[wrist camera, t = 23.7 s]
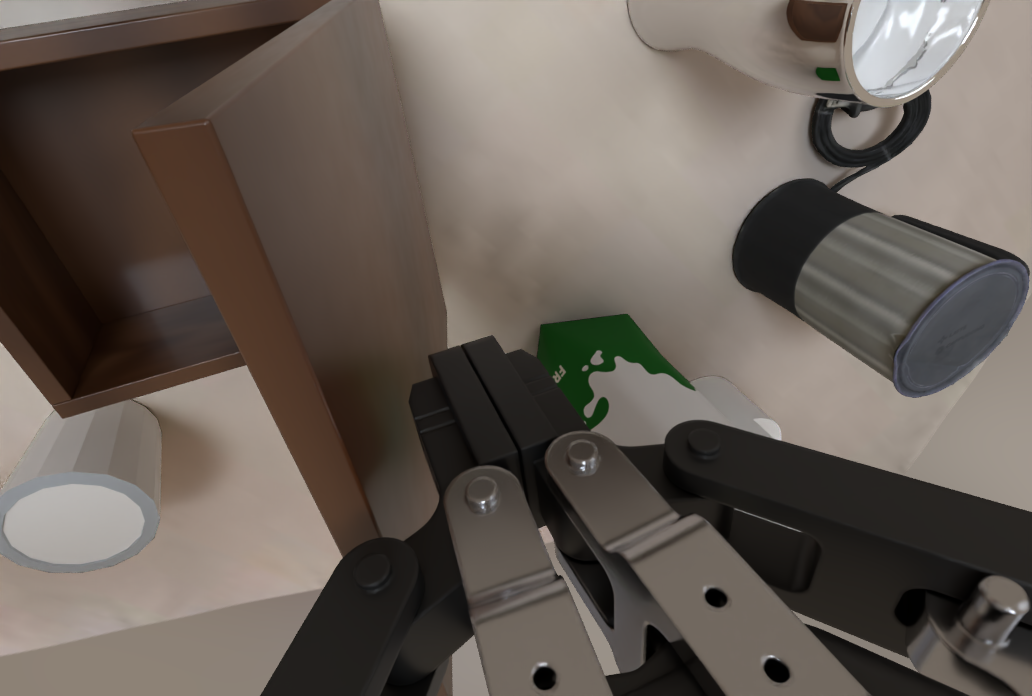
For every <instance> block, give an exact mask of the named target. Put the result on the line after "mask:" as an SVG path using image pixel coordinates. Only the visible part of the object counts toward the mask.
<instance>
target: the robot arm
mask: <svg viewBox="0 0 1032 696" xmlns="http://www.w3.org/2000/svg"><path fill="white" fill-rule="evenodd" d="M428 359H429V364H430V368H431V372H432V376H433V378H430V379H427V380H424V381H421V382H418V383H415V384H412V389H411V393H410V397H409V401H408V402H409V406H410V409H411V412H412V416H413V419H414V422H415V426H416V429H417V433H418V436H419V439H420V443H421V446H422V449H423V452H424V455H425V458H426V461H427V464H428V466H429V469H430V472H431V475H432V478H433V481H434V483H435V486H436V489H437V492H438V495H439V502H438V505H437V508H436V510H435V512H434V514H433V515H432V517H431V518H430V520H429V521H428V522H427V523H426V524H425V525H424V526H423V527H422V528H420V529H419V530H418V531H417V532H415V533H414V534H413V535H411V536H410V537H408V538H407V539H406V540H404V541H402V540H399V539H396V538H390V537H380V538H375V539H371V540H368V541H366V542H364V543H362V544H359V545H358V546H356V547H355V548H353V549H352V550H351V551H350V552H348V553H347V554H346V555H345V556H344V557H343V559H342V560H341V561H340V562H339V564H338V565H337V567H336V569H335V570H334V572H333V574H332V575H331V577H330V579H329V580H328V582H327V584H326V585H325V587H324V589H323V590H322V592H321V594H320V596H319V597H318V599H317V601H316V602H315V604H314V606H313V608H312V609H311V611H310V613H309V614H308V616H307V618H306V619H305V621H304V623H303V624H302V626H301V628H300V629H299V631H298V633H297V634H296V636H295V638H294V640H293V641H292V643H291V645H290V646H289V648H288V650H287V651H286V653H285V655H284V657H283V658H282V660H281V661H280V663H279V665H278V667H277V668H276V670H275V672H274V673H273V675H272V677H271V679H270V680H269V682H268V683H267V685H266V687H265V689H264V691H263V692H262V694H261V695H260V696H437V694H438V691H439V689H440V686H441V683H442V681H443V678H444V675H445V673H446V670H447V667H448V663H449V657H450V656H451V655H452V654H453V653H454V652H455V651H456V650H457V649H459V648H460V647H461V646H462V645H463V644H464V643H465V642H467V641H468V640H469V639H470V638H471V637H472V636H473V635H475V639H476V643H477V647H478V651H479V655H480V659H481V663H482V667H483V671H484V675H485V679H486V683H487V688H488V692H489V696H1032V512H1029V511H1026V510H1022V509H1019V508H1015V507H1011V506H1008V505H1005V504H1001V503H998V502H994V501H991V500H986V499H984V498H980V497H977V496H973V495H969V494H966V493H962V492H959V491H955V490H951V489H948V488H945V487H941V486H938V485H934V484H931V483H927V482H924V481H920V480H917V479H913V478H909V477H906V476H903V475H899V474H896V473H892V472H889V471H885V470H882V469H878V468H875V467H871V466H868V465H864V464H861V463H857V462H854V461H850V460H847V459H843V458H840V457H836V456H833V455H829V454H825V453H822V452H818V451H815V450H811V449H808V448H804V447H801V446H797V445H794V444H790V443H787V442H783V441H780V440H776V439H773V438H769V437H766V436H762V435H759V434H755V433H752V432H748V431H745V430H741V429H738V428H734V427H731V426H727V425H724V424H720V423H717V422H713V421H708V420H689V421H685V422H682V423H680V424H677V425H676V426H674V427H673V428H672V429H671V430H670V431H669V432H668V433H667V435H666V437H665V442H664V444H655V445H644V446H620V445H616V444H615V443H614V442H613V441H612V440H611V439H609V438H608V437H606V436H604V435H602V434H600V433H597V432H592V431H591V430H590V429H589V428H588V426H587V425H586V424H585V422H584V421H583V420H582V418H581V417H580V415H579V414H578V413H577V411H576V410H575V408H574V407H573V406H572V404H571V403H570V402H569V400H568V399H567V397H566V396H565V395H564V393H563V392H562V390H561V389H560V388H559V387H558V386H557V384H556V382H555V381H554V379H553V378H552V377H551V376H550V375H549V373H548V371H547V370H546V368H545V367H544V366H543V364H542V363H541V361H540V360H539V359H538V358H536V357H534V356H533V355H531V354H529V353H527V352H525V351H524V350H522V349H520V350H516V351H513V352H510V353H507V354H505V353H504V351H503V350H502V348H501V346H500V345H499V343H498V342H497V340H496V339H495V337H494V336H493V335H491V336H487V337H484V338H481V339H478V340H475V341H471V342H468V343H465V344H462V345H461V347H460V346H456V347H453V348H449V349H446V350H443V351H440V352H437V353H434V354H430V355H428ZM736 509H738V510H736ZM739 510H741V511H739ZM742 511H744V512H742ZM745 512H746V513H745ZM747 513H749V514H747ZM750 514H752V515H750ZM753 515H755V516H753ZM756 516H758V517H756ZM759 517H761V518H759ZM762 518H764V519H762ZM765 519H767V520H765ZM768 520H769V521H768ZM770 521H772V522H770ZM773 522H775V523H773ZM776 523H778V524H776ZM779 524H781V525H779ZM546 525H547V527H548V529H549V531H550V533H551V535H552V537H553V539H554V544H555V553H556V557H557V559H558V561H559V563H560V564H561V566H562V568H563V569H564V571H565V572H566V574H567V575H568V577H569V579H570V580H571V582H572V584H573V585H574V587H575V588H576V590H577V592H578V593H579V595H580V596H581V598H582V600H583V601H584V603H585V604H586V606H587V608H588V609H589V611H590V613H591V614H592V616H593V617H594V619H595V621H596V622H597V624H598V625H599V627H600V628H601V630H602V632H603V634H604V635H605V637H606V639H607V641H608V642H609V645H610V647H611V649H612V652H613V655H614V658H615V661H616V664H617V666H618V668H619V671H620V674H614V675H608V676H605V675H604V673H603V670H602V668H601V665H600V663H599V660H598V658H597V655H596V653H595V651H594V648H593V646H592V643H591V641H590V638H589V636H588V634H587V631H586V629H585V626H584V624H583V621H582V619H581V617H580V614H579V612H578V609H577V607H576V605H575V602H574V600H573V597H572V595H571V593H570V590H569V588H568V586H567V584H566V582H565V580H564V578H563V577H562V576H561V575H559V576H558V575H557V573H556V571H555V569H554V567H553V565H552V562H551V560H550V558H549V555H548V552H547V550H546V547H545V545H544V542H543V540H542V537H541V535H540V532H539V530H538V528H541V527H543V526H546ZM782 525H784V526H782ZM785 526H787V527H785ZM788 527H789V528H788ZM790 528H792V529H790ZM793 529H795V530H793ZM796 530H798V531H796ZM799 531H801V532H799ZM791 610H793V611H795V612H798V613H800V614H802V615H805V616H807V617H810V618H812V619H815V620H817V621H819V622H822V623H824V624H827V625H829V626H832V627H834V628H837V629H839V630H842V631H844V632H847V633H849V634H851V635H854V636H856V637H859V638H861V639H863V640H866V641H868V642H871V643H874V644H876V645H878V646H881V647H883V648H885V649H888V650H890V651H893V652H895V653H898V654H900V655H902V656H905V657H907V658H910V660H911V661H912V663H913V665H914V667H915V668H916V669H917V671H918V672H919V673H918V672H916V671H914V670H911V669H909V668H907V667H905V666H902V665H900V664H898V663H896V662H894V661H891V660H889V659H887V658H884V657H882V656H880V655H878V654H875V653H873V652H871V651H869V650H867V649H865V648H862V647H860V646H858V645H855V644H853V643H851V642H849V641H847V640H844V639H842V638H840V637H838V636H835V635H833V634H831V633H829V632H826V631H824V630H822V629H819V628H816V627H814V626H810V625H807V624H804V623H803V622H802V621H801V620H800V619H799V618H798V617H797V616H796V615H795V614H794V613H793V612H792V611H791Z"/></svg>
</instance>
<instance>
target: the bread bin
mask: <svg viewBox="0 0 1032 696" xmlns="http://www.w3.org/2000/svg"><path fill="white" fill-rule="evenodd" d="M329 1H331V0H188V1H182V2H175V3H169V4H162V5H156V6H149V7H142V8H136V9H129V10H123V11H116V12H110V13H103V14H97V15H90V16H84V17H77V18H71V19H64V20H58V21H51V22H44V23H38V24H31V25H25V26H18V27H12V28H5V29H0V342H1V343H2V344H3V345H4V347H5V348H6V349H7V350H8V352H9V353H10V354H11V355H12V357H13V358H14V359H15V360H16V362H17V363H18V364H19V365H20V367H21V368H22V369H23V370H24V372H25V373H26V374H27V375H28V377H29V378H30V379H31V380H32V382H33V383H34V384H35V385H36V387H37V388H38V389H39V390H40V392H41V393H42V394H43V395H44V397H45V398H46V399H47V400H48V402H49V403H50V404H51V405H52V407H53V408H54V409H55V410H56V412H57V413H58V414H59V415H60V417H61V418H62V419H65V418H68V417H72V416H75V415H78V414H82V413H85V412H89V411H92V410H95V409H99V408H102V407H105V406H109V405H112V404H116V403H119V402H122V401H126V400H129V399H133V398H136V397H139V396H143V395H146V394H150V393H153V392H156V391H160V390H163V389H166V388H170V387H173V386H177V385H180V384H183V383H187V382H190V381H194V380H197V379H200V378H204V377H207V376H210V375H214V374H217V373H221V372H224V371H227V370H231V369H234V368H238V367H241V366H244V365H246V363H245V361H244V359H243V357H242V355H241V353H240V351H239V349H238V347H237V345H236V343H235V341H234V339H233V337H232V335H231V333H230V331H229V329H228V327H227V325H226V323H225V321H224V319H223V317H222V315H221V313H220V311H219V309H218V307H217V305H216V303H215V301H214V299H213V297H212V295H211V293H210V291H209V289H208V287H207V285H206V283H205V281H204V279H203V277H202V275H201V273H200V271H199V269H198V267H197V265H196V263H195V261H194V259H193V257H192V255H191V253H190V251H189V249H188V247H187V245H186V243H185V241H184V239H183V237H182V235H181V233H180V231H179V229H178V227H177V225H176V223H175V221H174V219H173V217H172V215H171V213H170V211H169V209H168V207H167V205H166V203H165V201H164V199H163V197H162V195H161V193H160V191H159V189H158V187H157V185H156V183H155V181H154V179H153V177H152V175H151V173H150V171H149V169H148V167H147V165H146V163H145V161H144V159H143V157H142V155H141V153H140V151H139V149H138V147H137V145H136V143H135V141H134V139H133V137H132V133H131V131H132V129H134V128H135V127H137V126H138V125H140V124H141V123H143V122H145V121H146V120H148V119H149V118H151V117H152V116H154V115H155V114H157V113H158V112H160V111H161V110H163V109H165V108H166V107H168V106H169V105H171V104H172V103H174V102H175V101H177V100H178V99H180V98H182V97H183V96H185V95H186V94H188V93H189V92H191V91H192V90H194V89H195V88H197V87H198V86H200V85H202V84H203V83H205V82H206V81H208V80H209V79H211V78H212V77H214V76H215V75H217V74H219V73H220V72H222V71H223V70H225V69H226V68H228V67H229V66H231V65H232V64H234V63H235V62H237V61H239V60H240V59H242V58H243V57H245V56H246V55H248V54H249V53H251V52H252V51H254V50H255V49H257V48H259V47H260V46H262V45H263V44H265V43H266V42H268V41H269V40H271V39H272V38H274V37H276V36H277V35H279V34H280V33H282V32H283V31H285V30H286V29H288V28H289V27H291V26H292V25H294V24H296V23H297V22H299V21H300V20H302V19H303V18H305V17H306V16H308V15H309V14H311V13H313V12H314V11H316V10H317V9H319V8H320V7H322V6H323V5H325V4H326V3H328V2H329Z"/></svg>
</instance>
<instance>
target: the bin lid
mask: <svg viewBox="0 0 1032 696" xmlns="http://www.w3.org/2000/svg"><path fill="white" fill-rule="evenodd" d="M131 133H132V137H133V139H134V141H135V143H136V145H137V147H138V149H139V151H140V153H141V155H142V157H143V159H144V161H145V163H146V165H147V167H148V169H149V171H150V173H151V175H152V177H153V179H154V181H155V183H156V185H157V187H158V189H159V191H160V193H161V195H162V197H163V199H164V201H165V203H166V205H167V207H168V209H169V211H170V213H171V215H172V217H173V219H174V221H175V223H176V225H177V227H178V229H179V231H180V233H181V235H182V237H183V239H184V241H185V243H186V245H187V247H188V249H189V251H190V253H191V255H192V257H193V259H194V261H195V263H196V265H197V267H198V269H199V271H200V273H201V275H202V277H203V279H204V281H205V283H206V285H207V287H208V289H209V291H210V293H211V295H212V297H213V299H214V301H215V303H216V305H217V307H218V309H219V311H220V313H221V315H222V317H223V319H224V321H225V323H226V325H227V327H228V329H229V331H230V333H231V335H232V337H233V339H234V341H235V343H236V345H237V347H238V349H239V351H240V353H241V355H242V357H243V359H244V361H245V363H246V365H247V367H248V369H249V371H250V373H251V375H252V377H253V379H254V381H255V383H256V385H257V387H258V389H259V391H260V393H261V395H262V397H263V399H264V401H265V403H266V405H267V407H268V409H269V411H270V413H271V415H272V417H273V419H274V421H275V423H276V425H277V427H278V429H279V431H280V433H281V435H282V437H283V439H284V441H285V443H286V445H287V447H288V449H289V451H290V453H291V455H292V457H293V459H294V461H295V463H296V465H297V467H298V469H299V471H300V473H301V475H302V477H303V479H304V481H305V483H306V485H307V487H308V489H309V491H310V493H311V495H312V497H313V499H314V501H315V503H316V505H317V507H318V509H319V511H320V513H321V515H322V517H323V519H324V521H325V523H326V525H327V527H328V529H329V531H330V533H331V535H332V537H333V539H334V541H335V543H336V545H337V547H338V549H339V551H340V553H341V555H342V557H344V556H345V555H346V554H347V553H348V552H350V551H351V550H352V549H353V548H355V547H356V546H358V545H359V544H362V543H364V542H366V541H368V540H371V539H375V538H380V537H390V538H396V539H399V540H402V541H404V540H406V539H407V538H408V537H410V536H411V535H413V534H414V533H415V532H417V531H418V530H419V529H420V528H422V527H423V526H424V525H425V524H426V523H427V522H428V521H429V520H430V518H431V517H432V515H433V514H434V512H435V510H436V508H437V505H438V502H439V495H438V492H437V489H436V486H435V483H434V481H433V478H432V475H431V472H430V469H429V466H428V464H427V461H426V458H425V455H424V452H423V449H422V446H421V443H420V439H419V436H418V433H417V429H416V426H415V422H414V419H413V416H412V412H411V409H410V406H409V402H408V401H409V397H410V393H411V389H412V384H415V383H418V382H421V381H424V380H427V379H430V378H433V376H432V372H431V368H430V364H429V359H428V355H430V354H434V353H437V352H440V351H443V350H446V349H448V346H447V310H446V305H445V301H444V296H443V291H442V287H441V282H440V278H439V273H438V269H437V264H436V259H435V255H434V250H433V246H432V241H431V237H430V232H429V227H428V223H427V218H426V214H425V209H424V205H423V200H422V195H421V191H420V186H419V182H418V177H417V173H416V168H415V163H414V159H413V154H412V150H411V145H410V141H409V136H408V131H407V127H406V122H405V118H404V113H403V109H402V104H401V99H400V95H399V90H398V86H397V81H396V77H395V72H394V67H393V63H392V58H391V54H390V49H389V45H388V40H387V35H386V31H385V26H384V22H383V17H382V13H381V8H380V3H379V0H331V1H329V2H328V3H326V4H325V5H323V6H322V7H320V8H319V9H317V10H316V11H314V12H313V13H311V14H309V15H308V16H306V17H305V18H303V19H302V20H300V21H299V22H297V23H296V24H294V25H292V26H291V27H289V28H288V29H286V30H285V31H283V32H282V33H280V34H279V35H277V36H276V37H274V38H272V39H271V40H269V41H268V42H266V43H265V44H263V45H262V46H260V47H259V48H257V49H255V50H254V51H252V52H251V53H249V54H248V55H246V56H245V57H243V58H242V59H240V60H239V61H237V62H235V63H234V64H232V65H231V66H229V67H228V68H226V69H225V70H223V71H222V72H220V73H219V74H217V75H215V76H214V77H212V78H211V79H209V80H208V81H206V82H205V83H203V84H202V85H200V86H198V87H197V88H195V89H194V90H192V91H191V92H189V93H188V94H186V95H185V96H183V97H182V98H180V99H178V100H177V101H175V102H174V103H172V104H171V105H169V106H168V107H166V108H165V109H163V110H161V111H160V112H158V113H157V114H155V115H154V116H152V117H151V118H149V119H148V120H146V121H145V122H143V123H141V124H140V125H138V126H137V127H135V128H134V129H132V131H131ZM437 696H452V655H451V656H450V657H449V663H448V667H447V670H446V673H445V675H444V678H443V681H442V683H441V686H440V689H439V691H438V694H437Z"/></svg>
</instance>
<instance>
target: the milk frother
mask: <svg viewBox="0 0 1032 696" xmlns="http://www.w3.org/2000/svg"><path fill="white" fill-rule="evenodd" d="M837 108H841V109H842V110H843V111H845V112H846V113H847V114H849V116H850V117H852V118H856V117H858V115H859V113H860V112H861V111H868V110H872V109H875V108H878V107H873V106H870V105H866V104H859V103H851V102H842V101H834V100H827V99H819V101H818V103H817V105H816V109H815V112H814V116H813V120H812V139H813V144H814V145H815V147H816V149H817V151H818V152H819V153H820V154H821V155H822V156H823V157H824V158H825V159H826V160H827V161H829V162H831V163H832V164H834V165H837V166H840V167H850V168H854V167H863V166H866V167H865V168H863V169H861V170H860V171H858V172H856V173H854V174H852V175H850V176H849V177H847V178H845V179H843V180H841V181H840V182H838V183H837V184H835V185H834V186H833V187H832V188H831V189H829V188H828V187H827V186H826V185H825V184H824V183H822V182H820V181H818V180H815V179H798V180H794V181H791V182H789V183H786V184H784V185H782V186H780V187H779V188H777V189H776V190H774V191H772V192H771V193H770V194H769V195H768V196H766V197H765V198H764V199H763V200H762V201H761V202H760V203H759V204H758V205H757V206H756V207H755V208H754V209H753V211H752V212H751V214H750V215H749V216H748V218H747V219H746V221H745V223H744V224H743V226H742V228H741V231H740V233H739V235H738V238H737V241H736V244H735V248H734V253H733V267H734V272H735V274H736V277H737V278H738V280H739V281H740V283H741V284H742V285H743V286H745V287H746V288H747V289H749V290H752V291H754V292H759V293H761V294H763V295H764V296H766V297H768V298H769V299H771V300H772V301H774V302H776V303H777V304H779V305H780V306H782V307H784V308H785V309H787V310H788V311H790V312H791V313H793V314H794V315H796V316H797V317H798V318H800V319H801V320H803V321H805V322H806V323H808V324H809V325H810V326H812V327H813V328H814V329H816V330H817V331H818V332H820V333H821V334H823V335H824V336H826V337H827V338H828V339H830V340H831V341H833V342H834V343H836V344H837V345H839V346H840V347H842V348H843V349H844V350H846V351H847V352H849V353H850V354H852V355H853V356H855V357H856V358H858V359H859V360H861V361H862V362H863V363H865V364H866V365H868V366H869V367H871V368H872V369H874V370H875V371H877V372H878V373H880V374H881V375H883V376H884V377H886V378H887V379H889V380H890V381H892V382H893V383H894V386H895V388H896V390H897V391H898V392H899V393H900V394H902V395H904V396H907V397H912V398H917V397H922V396H927V395H931V394H933V393H936V392H938V391H941V390H943V389H944V388H946V387H948V386H950V385H952V384H954V383H955V382H957V381H958V380H959V379H961V378H963V377H964V376H965V375H967V374H968V373H969V372H971V371H972V370H973V369H974V368H975V367H976V366H977V365H979V364H980V363H981V362H982V361H984V360H985V359H986V358H987V357H988V356H989V355H990V353H991V352H992V351H993V350H994V349H995V348H996V347H997V346H998V345H999V344H1000V343H1001V341H1002V340H1003V339H1004V338H1005V337H1006V336H1007V335H1008V332H1009V330H1010V328H1011V327H1012V325H1013V323H1014V321H1015V320H1016V318H1017V317H1018V315H1019V314H1020V312H1021V310H1022V307H1023V305H1024V303H1025V300H1026V296H1027V293H1028V289H1029V274H1030V271H1029V268H1028V266H1027V264H1026V263H1025V262H1024V261H1023V260H1021V259H1020V258H1019V257H1017V256H1015V255H1014V254H1012V253H1010V252H1008V251H1005V250H1003V249H1000V248H997V247H994V246H991V245H988V244H986V243H983V242H980V241H977V240H974V239H972V238H969V237H965V236H963V235H960V234H958V233H954V232H952V231H949V230H946V229H943V228H941V227H938V226H934V225H931V224H929V223H926V222H923V221H920V220H918V219H915V218H912V217H909V216H905V215H894V216H892V217H890V216H887V215H885V214H883V213H880V212H878V211H875V210H873V209H871V208H868V207H866V206H864V205H861V204H859V203H857V202H855V201H853V200H851V199H848V198H846V197H844V196H842V195H840V194H838V193H837V192H838V191H839V190H840V189H841V188H842V187H844V186H845V185H846V184H848V183H849V182H851V181H853V180H854V179H856V178H857V177H859V176H861V175H863V174H865V173H867V172H869V171H871V170H873V169H876V168H878V167H879V166H880V165H882V164H884V163H886V162H888V161H889V160H891V159H892V158H893V157H895V156H897V155H898V154H900V153H901V152H902V151H903V150H905V149H906V148H907V147H908V146H909V145H911V144H912V142H913V141H914V140H915V139H916V138H917V137H918V135H919V134H920V133H921V131H922V130H923V128H924V127H925V125H926V123H927V121H928V118H929V115H930V111H931V95H930V92H929V89H928V90H927V91H925V92H924V93H922V94H921V95H919V96H918V97H916V98H914V99H913V100H911V101H909V102H906V103H904V105H903V109H904V115H903V118H902V120H901V122H900V123H899V125H898V126H897V128H896V129H895V130H894V131H893V132H892V133H891V134H890V135H889V136H888V137H887V138H886V139H885V140H883V141H882V142H880V143H878V144H877V145H875V146H873V147H870V148H867V149H864V150H850V149H847V148H844V147H842V146H841V145H839V144H838V143H837V142H836V140H835V139H834V137H833V135H832V131H831V120H832V115H833V111H834V110H835V109H837Z"/></svg>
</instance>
